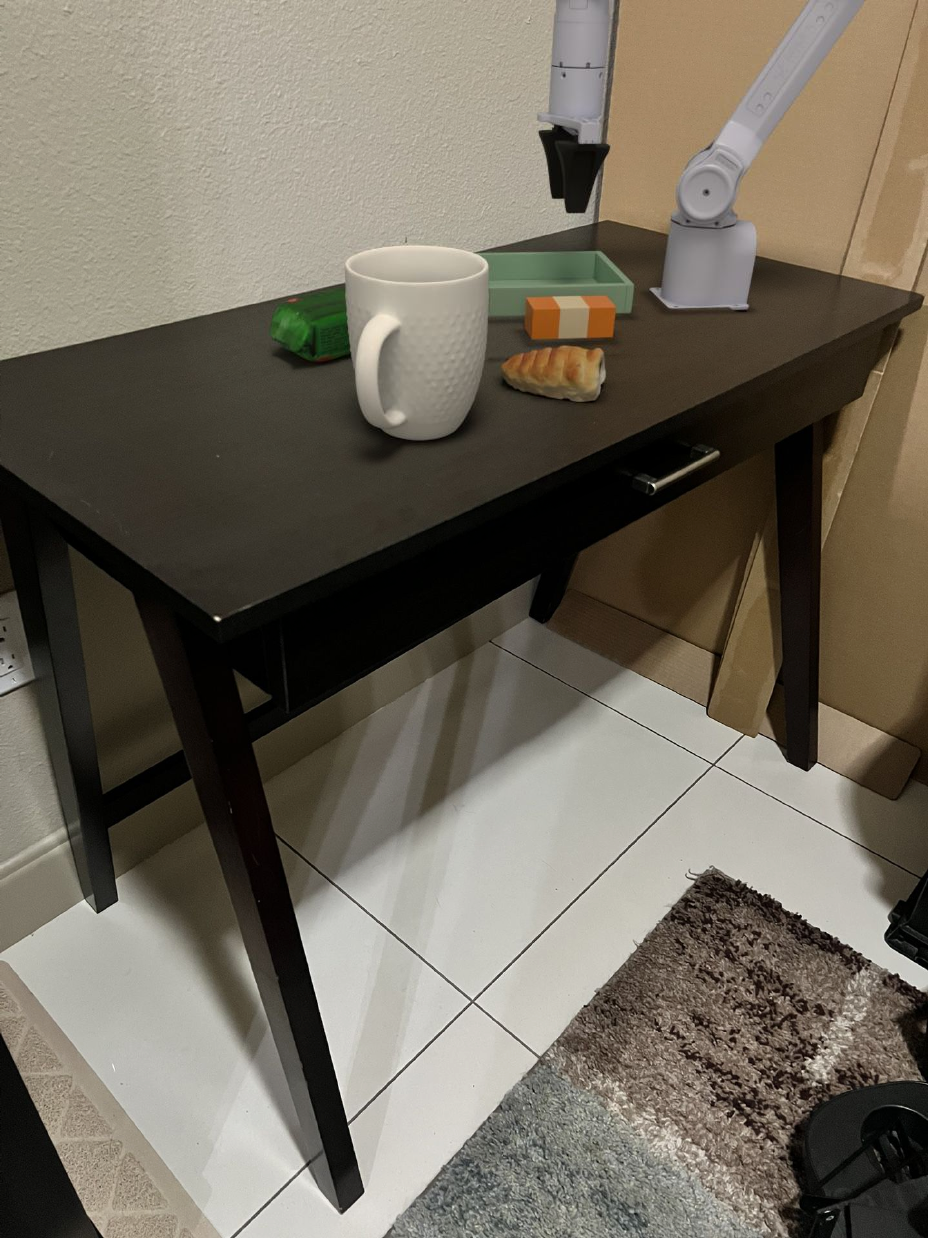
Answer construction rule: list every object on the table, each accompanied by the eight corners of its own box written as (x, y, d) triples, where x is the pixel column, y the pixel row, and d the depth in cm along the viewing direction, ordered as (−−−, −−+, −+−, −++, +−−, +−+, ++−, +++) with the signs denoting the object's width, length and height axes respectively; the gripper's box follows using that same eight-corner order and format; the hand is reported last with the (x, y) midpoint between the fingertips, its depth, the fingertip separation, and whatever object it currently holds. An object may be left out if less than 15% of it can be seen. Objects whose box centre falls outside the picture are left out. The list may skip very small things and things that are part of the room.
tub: (598, 281, 113) (601, 250, 111) (630, 318, 102) (634, 284, 100) (464, 284, 112) (464, 252, 109) (481, 321, 100) (482, 287, 98)
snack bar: (602, 329, 98) (606, 294, 96) (612, 342, 95) (616, 306, 93) (524, 332, 97) (525, 296, 95) (531, 344, 94) (533, 308, 92)
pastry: (494, 394, 83) (496, 353, 80) (507, 369, 88) (509, 329, 86) (599, 405, 81) (604, 362, 79) (606, 378, 87) (610, 338, 84)
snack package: (430, 340, 95) (429, 288, 92) (300, 373, 86) (295, 317, 83) (388, 323, 99) (386, 273, 96) (260, 353, 90) (254, 299, 88)
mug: (436, 484, 68) (435, 305, 61) (305, 458, 71) (289, 285, 64) (503, 411, 80) (510, 253, 72) (388, 392, 83) (382, 238, 75)
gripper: (528, 59, 102) (521, 192, 110) (555, 72, 91) (546, 219, 98) (590, 60, 103) (579, 192, 111) (625, 72, 91) (610, 218, 99)
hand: (567, 205), depth 105 cm, fingers open, 7 cm apart
